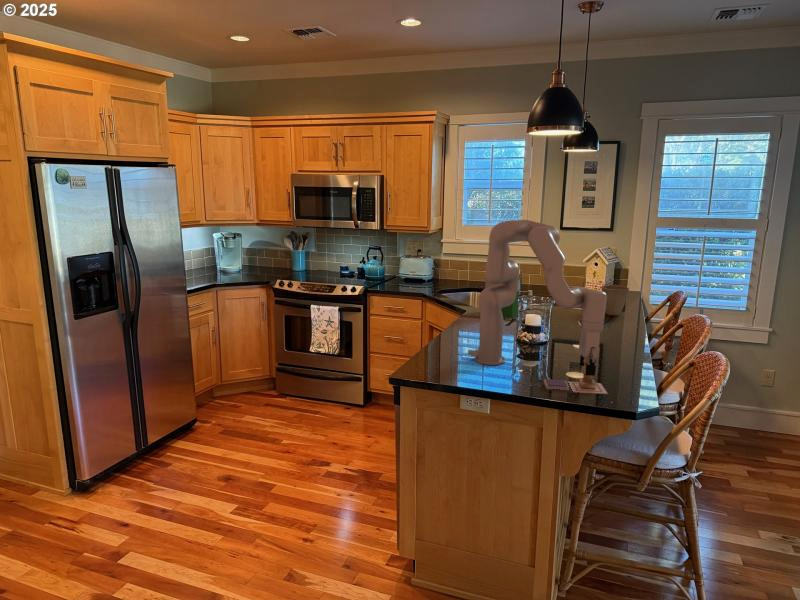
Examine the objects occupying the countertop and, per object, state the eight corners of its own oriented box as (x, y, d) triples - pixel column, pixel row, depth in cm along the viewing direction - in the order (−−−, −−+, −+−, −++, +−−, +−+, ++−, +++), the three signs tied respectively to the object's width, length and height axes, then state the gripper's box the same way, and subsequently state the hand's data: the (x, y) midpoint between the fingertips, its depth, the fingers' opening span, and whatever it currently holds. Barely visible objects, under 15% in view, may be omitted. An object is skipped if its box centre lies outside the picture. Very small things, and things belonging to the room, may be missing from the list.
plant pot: (595, 314, 307) (597, 287, 304) (604, 310, 318) (607, 284, 315) (621, 318, 297) (624, 290, 294) (630, 313, 308) (632, 287, 305)
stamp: (581, 388, 190) (583, 357, 188) (578, 384, 194) (581, 354, 192) (595, 389, 190) (598, 358, 187) (592, 385, 194) (595, 355, 191)
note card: (572, 392, 188) (572, 391, 188) (567, 382, 198) (567, 381, 198) (607, 394, 187) (607, 393, 187) (600, 383, 196) (600, 382, 196)
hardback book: (484, 313, 305) (485, 272, 300) (490, 311, 311) (492, 271, 306) (511, 318, 295) (514, 276, 290) (517, 316, 300) (520, 274, 295)
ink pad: (546, 389, 191) (546, 385, 190) (543, 382, 197) (543, 378, 197) (569, 390, 190) (569, 386, 189) (565, 383, 196) (565, 379, 196)
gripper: (576, 318, 196) (571, 361, 200) (586, 331, 179) (581, 378, 183) (597, 319, 195) (592, 363, 199) (609, 332, 179) (603, 379, 182)
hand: (586, 370), depth 191 cm, fingers open, 9 cm apart
